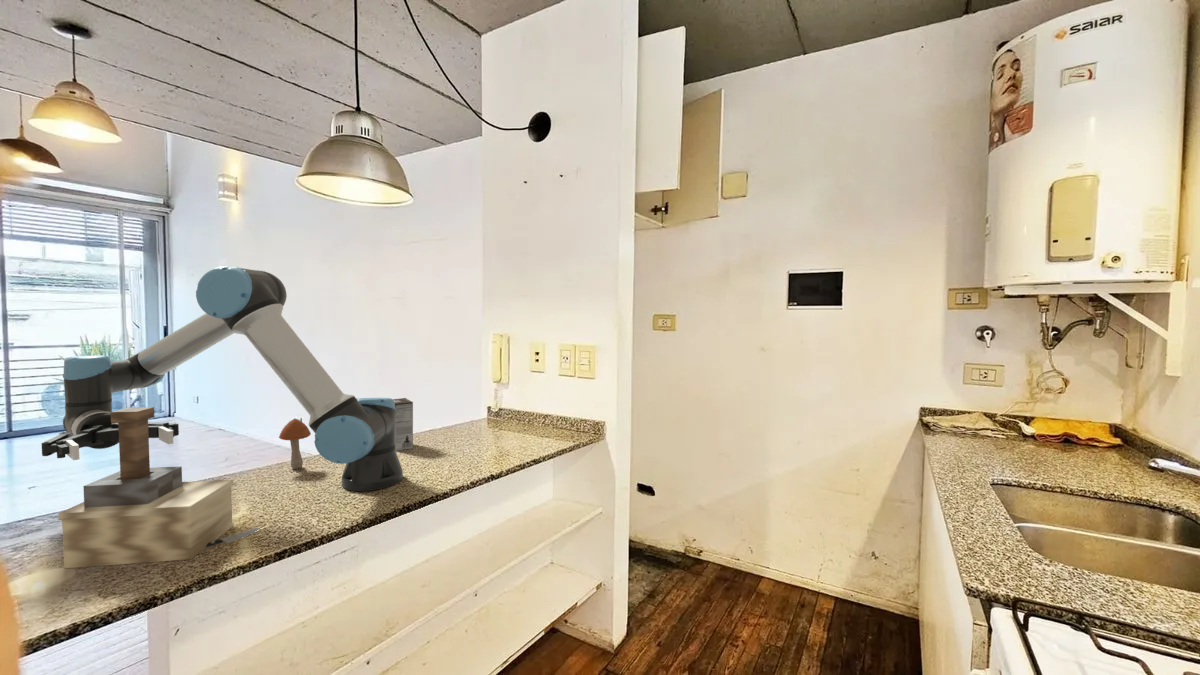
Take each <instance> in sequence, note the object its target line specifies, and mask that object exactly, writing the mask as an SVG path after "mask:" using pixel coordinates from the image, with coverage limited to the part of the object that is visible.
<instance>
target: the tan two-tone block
mask: <svg viewBox="0 0 1200 675" xmlns="http://www.w3.org/2000/svg"><path fill="white" fill-rule="evenodd" d="M233 486H234V479H217V480H216V479H215V480H198V481H195V480H194V481H183V467H182V466H166V467H165V466H163V467H157V466H156V467H150V474H149V475H147V476H145V477H143V478H141V479H124V480H121V477H120V470H118V471H117V472H114V473H112V474H110V475H109V474H108V475H107V476H105V477H102V478H100V479H98V480H95V481H93V482H90V483H88V484H85V485H83V486H82V487H83V488H82V489H83V501H82V502H81V503H78V504H76V505H74V506H72V507H70V508H67V509H65V510H63V511H61V512H59V513H57V515H58V516H57V517H58V518H57V519H58V521H61V528H62V548H63V551H62V552H63V568H64V569H74V568H88V567H100V566H101V567H102V566H116V565H129V564H141V563H145V564H146V563H155V562H168V561H169V562H171V561H183V560H186V561H187V560H192V559H193V558H195V557H196V556H197V555H198V554H199V553H201V552H203V550H204V549H206V548H207V547H206V545H207V544H208V543H209V542H212V541H215V540H218V539H220V537H221V536H223V535H224V534H225V533H226V532H227V530H228V531H229V530H230V529H232V528H233V506H232V505H233V503H232V499H233V498H232V487H233Z"/></svg>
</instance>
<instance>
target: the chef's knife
mask: <svg viewBox="0 0 1200 675" xmlns="http://www.w3.org/2000/svg"><path fill="white" fill-rule="evenodd" d="M260 528H262V527H260ZM260 528H255V527H253V528H249V529H246V530H244V531H243V530H242V531H241V532H237V533H234V534H231V535H228V536H225V537H223V538H217V539H216V540H215V541H212V542H209V543H208V544H207V545H206V548H210V547H212V546H215V545H217V544H220V543H221V542H222V543H224V542H225V543H224V544H231V543H230V542H232V541H234V542H236V541H235V540H237V541H239V540H241V539H243V538H242V537H244V538H246V537H248V536H247V535H249V534H251V533H254V534H256V533H255V531H257V530H258V529H260ZM251 535H252V534H251ZM245 536H246V537H245ZM249 536H250V535H249ZM238 539H239V540H238ZM232 543H233V542H232Z"/></svg>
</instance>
